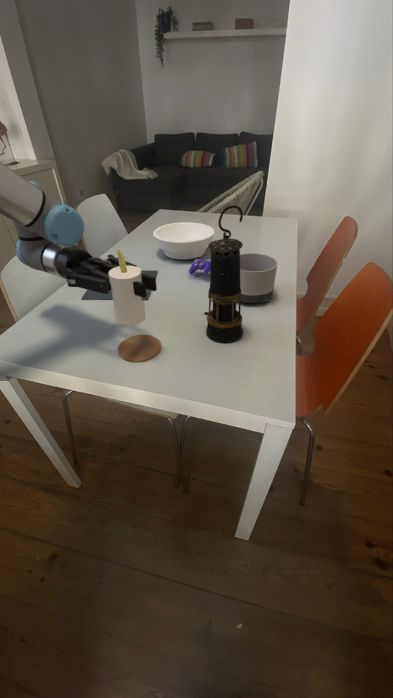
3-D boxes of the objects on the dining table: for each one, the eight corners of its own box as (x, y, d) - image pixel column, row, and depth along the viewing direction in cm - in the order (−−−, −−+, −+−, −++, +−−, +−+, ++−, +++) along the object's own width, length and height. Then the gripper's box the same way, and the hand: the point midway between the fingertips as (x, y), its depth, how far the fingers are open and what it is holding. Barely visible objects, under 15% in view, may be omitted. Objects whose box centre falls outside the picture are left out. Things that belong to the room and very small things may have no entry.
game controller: (178, 266, 102) (197, 251, 106) (187, 288, 106) (206, 273, 111) (199, 266, 95) (219, 249, 99) (208, 289, 99) (227, 272, 104)
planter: (274, 288, 97) (279, 255, 90) (269, 309, 87) (274, 274, 81) (233, 283, 100) (235, 251, 94) (223, 303, 90) (225, 268, 84)
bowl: (164, 241, 131) (163, 220, 126) (218, 244, 128) (219, 223, 122) (147, 263, 114) (144, 240, 109) (209, 267, 110) (209, 243, 105)
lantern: (202, 325, 82) (200, 200, 63) (235, 320, 83) (244, 196, 65) (211, 346, 75) (212, 212, 56) (248, 340, 76) (261, 208, 58)
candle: (142, 327, 66) (134, 256, 56) (111, 324, 66) (99, 254, 57) (149, 311, 71) (143, 244, 61) (121, 309, 71) (111, 242, 62)
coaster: (113, 361, 71) (113, 360, 71) (123, 335, 79) (123, 334, 79) (157, 362, 70) (157, 361, 70) (163, 336, 78) (163, 334, 78)
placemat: (81, 299, 94) (80, 298, 94) (100, 271, 110) (100, 270, 109) (148, 300, 93) (147, 299, 93) (158, 271, 109) (157, 270, 108)
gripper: (98, 266, 79) (174, 289, 69) (45, 292, 69) (125, 322, 59) (91, 236, 75) (172, 255, 64) (34, 258, 65) (118, 285, 54)
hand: (149, 287), depth 62 cm, fingers closed on candle, 2 cm apart
